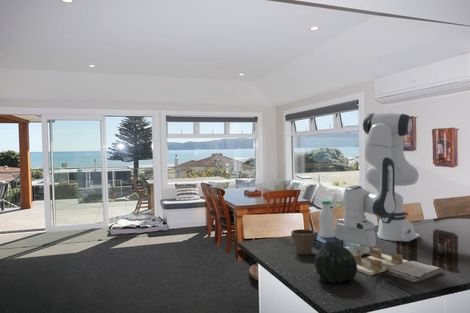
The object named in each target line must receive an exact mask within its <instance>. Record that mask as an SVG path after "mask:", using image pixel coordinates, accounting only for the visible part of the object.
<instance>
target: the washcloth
mask: <svg viewBox="0 0 470 313" xmlns="http://www.w3.org/2000/svg"><path fill="white" fill-rule="evenodd" d="M387 271H388V272H387V275H388V274H389V275H392V276H394V277H397V278H399V279H402V280H406V281H408V282H413V283H415V282H420V281H423V280H426V279H429V278H432V277H433V276H436V275H439V274H441V272H442V268H441V267H439V266H434V265H433V264H431V265H429V264H424V263H422V262H419V261H415V260H410V261H409V262H407V263H403V264H399V265H397V266H394V267H390V268H388V270H387Z"/></svg>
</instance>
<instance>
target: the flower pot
mask: <svg viewBox="0 0 470 313" xmlns="http://www.w3.org/2000/svg"><path fill="white" fill-rule="evenodd" d="M316 232H317V231H315V230H313V229H301V228H300V229H294V230H292V231H291V232H290V233H291V238H293V243H294V247H295V249H296V253H297V254H298V255H304V256H305V255H310V254H312V250H313V246H314V241H315V238H316V237H317V233H316Z"/></svg>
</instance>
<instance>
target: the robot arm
mask: <svg viewBox="0 0 470 313" xmlns="http://www.w3.org/2000/svg"><path fill="white" fill-rule="evenodd" d="M412 127H413V121H412V117H411V116H410V115H409V114H407V113H406V114H405V113H394V112H393V113H392V112H387V113H385V112H383V113H381V112H380V113H374V112H373V113H368V114H366V115H365V116H364V118H363V120H362V129H363V131H364V133H365V134H367V137H366V141H365V142H366V143H365V146H364V147H365V148H364V158H365V160H366V162H367V163H368V164H369V165H370V166H369V167H368V168H367V169H366V172H365V180H366V181H367V183H368V184H369V185H371V187H373V188H374V189H375V190H376V191H377V193H376V192H373V191H372V192H371V191H369V190H366V189H365V188H363V186H360V185H350V186H348V187H346V188H345V189H344V192H343V202H342V203H343V205H342V206H343V209H344V212H343V219H341V218H339V219H337V220H336V222H335V223H336V225H335V229H334V237H335V238H336V239H337V240H341V241H343V243H344V245H345V247H347V246H351V245H350V243H351V244H354V245H356V244H358V245H359V247H361V248H360V250H358V254H360V255H361V256H363V250H364V248H365V246H366V247H369V248H373V247H374V248H375V246H376V243H377V241H376V239H377V238H376V235H377V237H378V239H382V240H387V241H392V242H393V241H394V242H411V241H412V240H413V241H414V240H415V239H418V238H420V234H419V233H416V232H415V226H414V224H412V222H410V221H409V220H408V219H407V217H408V216H409V215H410V214H409V212H408V211H404V198H403V196H402V195H401V194H399V192H395V186H396V187H399V186H400V187H405V186H406V187H407V186H412V185H415V184H416V183H417V182H418V181H419V175H420V174H419V172H418V169H417V167H415V166H414V165H412V164H410V163H409V162H408V161H407V159H406V157H405V152H404V136H408V135H409V134H410V132H411V131H412ZM365 213H366V214H370V215H374V216H377V217H379V218H380V219H379V221H378V228H377V229H378V231H377V232H375V230H374V228H375V223H374V222H372V221H370V220H369V219H367V218H365ZM406 216H407V217H406Z"/></svg>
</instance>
